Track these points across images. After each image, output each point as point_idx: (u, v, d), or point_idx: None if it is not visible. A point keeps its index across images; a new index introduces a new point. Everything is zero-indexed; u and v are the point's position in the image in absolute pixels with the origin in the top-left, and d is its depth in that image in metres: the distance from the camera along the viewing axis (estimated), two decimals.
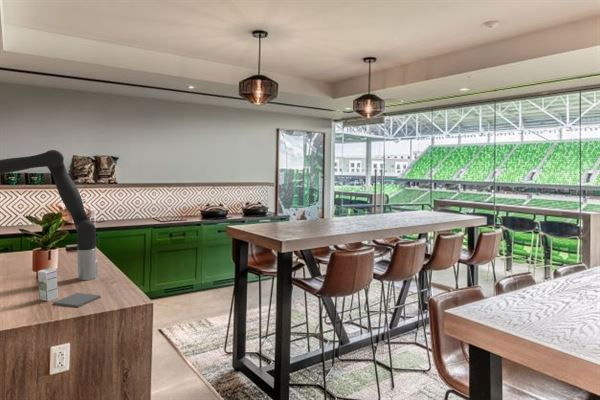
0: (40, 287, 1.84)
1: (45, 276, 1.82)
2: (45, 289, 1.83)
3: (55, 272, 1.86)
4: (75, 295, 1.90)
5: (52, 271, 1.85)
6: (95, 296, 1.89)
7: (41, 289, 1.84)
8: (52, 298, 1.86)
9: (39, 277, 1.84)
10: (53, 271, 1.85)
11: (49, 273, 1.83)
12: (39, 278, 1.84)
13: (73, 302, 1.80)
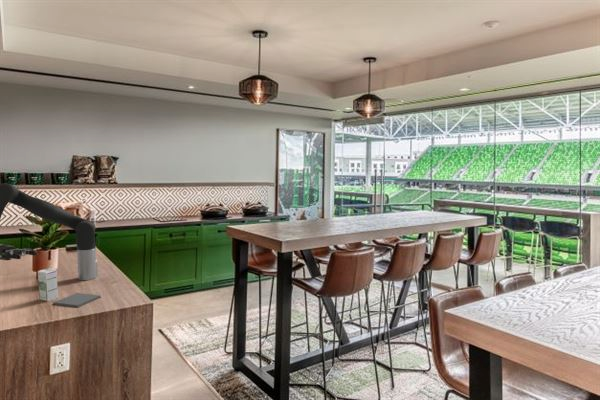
0: (40, 287, 1.84)
1: (45, 276, 1.82)
2: (45, 289, 1.83)
3: (55, 272, 1.86)
4: (75, 295, 1.90)
5: (52, 271, 1.85)
6: (95, 296, 1.89)
7: (41, 289, 1.84)
8: (52, 298, 1.86)
9: (39, 277, 1.84)
10: (53, 271, 1.85)
11: (49, 273, 1.83)
12: (39, 278, 1.84)
13: (73, 302, 1.80)
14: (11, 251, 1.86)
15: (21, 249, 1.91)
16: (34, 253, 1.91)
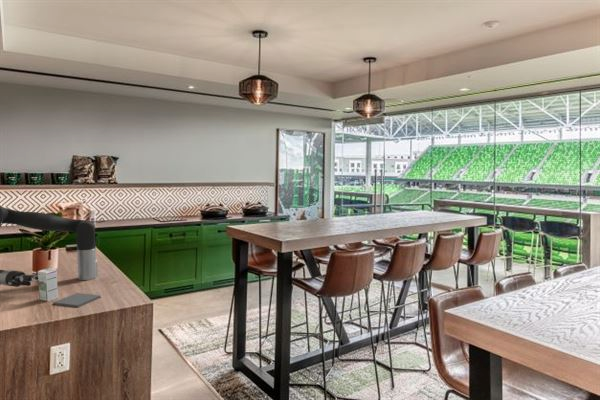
0: (40, 287, 1.84)
1: (45, 276, 1.82)
2: (45, 289, 1.83)
3: (55, 272, 1.86)
4: (75, 295, 1.90)
5: (52, 271, 1.85)
6: (95, 296, 1.89)
7: (41, 289, 1.84)
8: (52, 298, 1.86)
9: (39, 277, 1.84)
10: (53, 271, 1.85)
11: (49, 273, 1.84)
12: (39, 278, 1.84)
13: (73, 302, 1.80)
14: (21, 277, 1.86)
15: (31, 275, 1.91)
16: None
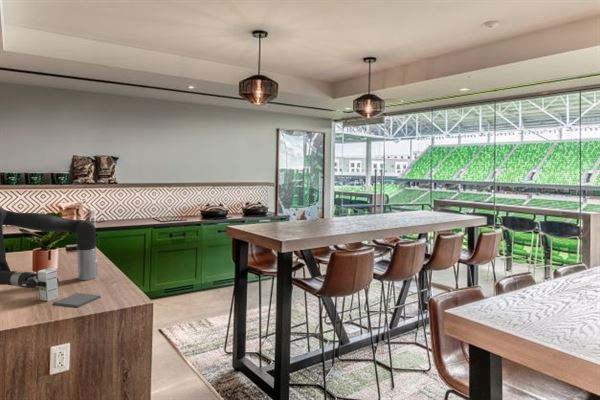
0: (40, 287, 1.84)
1: (45, 276, 1.82)
2: (45, 289, 1.83)
3: (55, 272, 1.86)
4: (75, 295, 1.90)
5: (52, 271, 1.85)
6: (95, 296, 1.89)
7: (41, 289, 1.84)
8: (52, 298, 1.86)
9: (39, 277, 1.84)
10: (53, 271, 1.85)
11: (49, 273, 1.84)
12: (39, 278, 1.84)
13: (73, 302, 1.80)
14: (35, 279, 1.85)
15: None
16: None
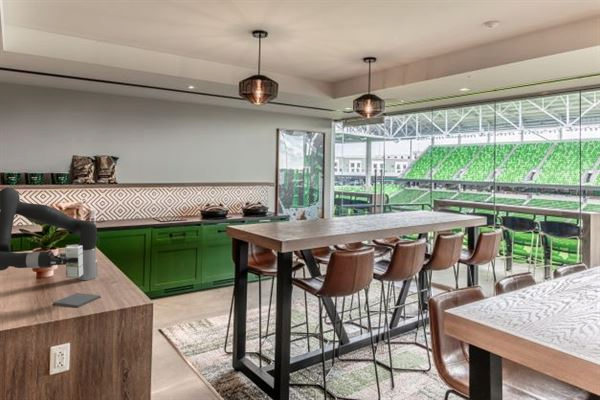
0: (68, 264, 1.80)
1: (77, 252, 1.80)
2: (76, 265, 1.81)
3: (82, 248, 1.85)
4: (75, 295, 1.90)
5: (80, 247, 1.83)
6: (95, 296, 1.89)
7: (70, 266, 1.80)
8: (81, 274, 1.84)
9: (67, 254, 1.80)
10: (81, 247, 1.84)
11: (79, 249, 1.82)
12: (67, 255, 1.80)
13: (73, 302, 1.80)
14: (61, 256, 1.79)
15: (64, 254, 1.83)
16: None
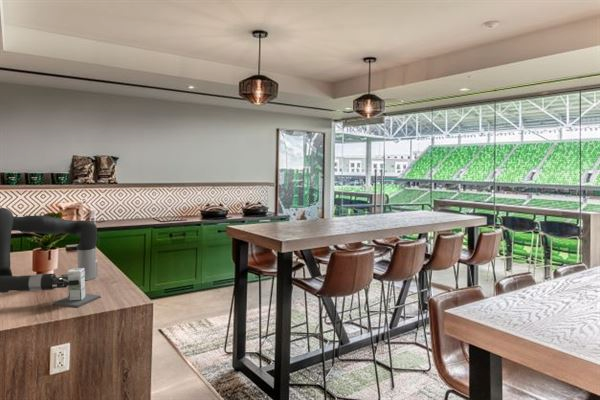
0: (71, 287, 1.81)
1: (79, 275, 1.81)
2: (79, 288, 1.82)
3: None
4: None
5: (82, 270, 1.85)
6: (95, 296, 1.89)
7: (72, 289, 1.81)
8: (83, 297, 1.85)
9: (70, 277, 1.81)
10: (83, 270, 1.85)
11: (81, 272, 1.83)
12: (70, 278, 1.81)
13: (73, 302, 1.80)
14: (62, 278, 1.80)
15: (66, 275, 1.85)
16: None
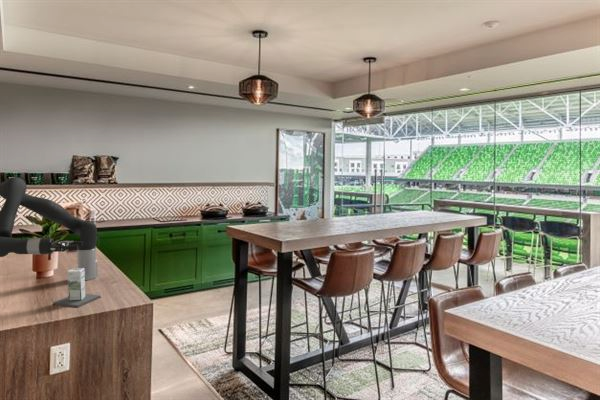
0: (71, 287, 1.81)
1: (79, 275, 1.81)
2: (79, 288, 1.82)
3: None
4: None
5: (82, 270, 1.85)
6: (95, 296, 1.89)
7: (72, 289, 1.81)
8: (83, 297, 1.85)
9: (70, 277, 1.81)
10: (83, 270, 1.85)
11: (81, 272, 1.83)
12: (70, 278, 1.81)
13: (73, 302, 1.80)
14: (61, 243, 1.79)
15: (65, 241, 1.84)
16: (80, 243, 1.87)
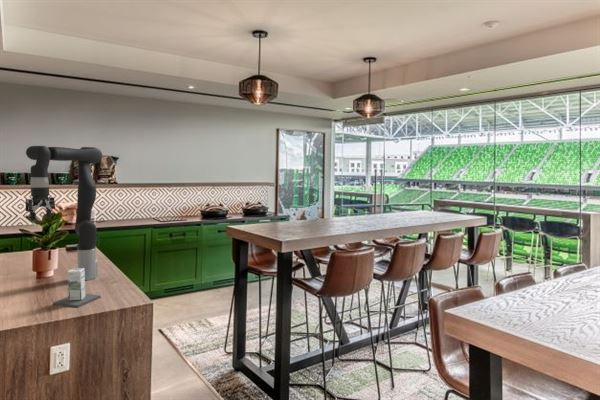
0: (71, 287, 1.81)
1: (79, 275, 1.81)
2: (79, 288, 1.82)
3: None
4: None
5: (82, 270, 1.85)
6: (95, 296, 1.89)
7: (72, 289, 1.81)
8: (83, 297, 1.85)
9: (70, 277, 1.81)
10: (83, 270, 1.85)
11: (81, 272, 1.83)
12: (70, 278, 1.81)
13: (73, 302, 1.80)
14: (38, 205, 1.88)
15: (47, 204, 1.93)
16: (47, 216, 1.95)
